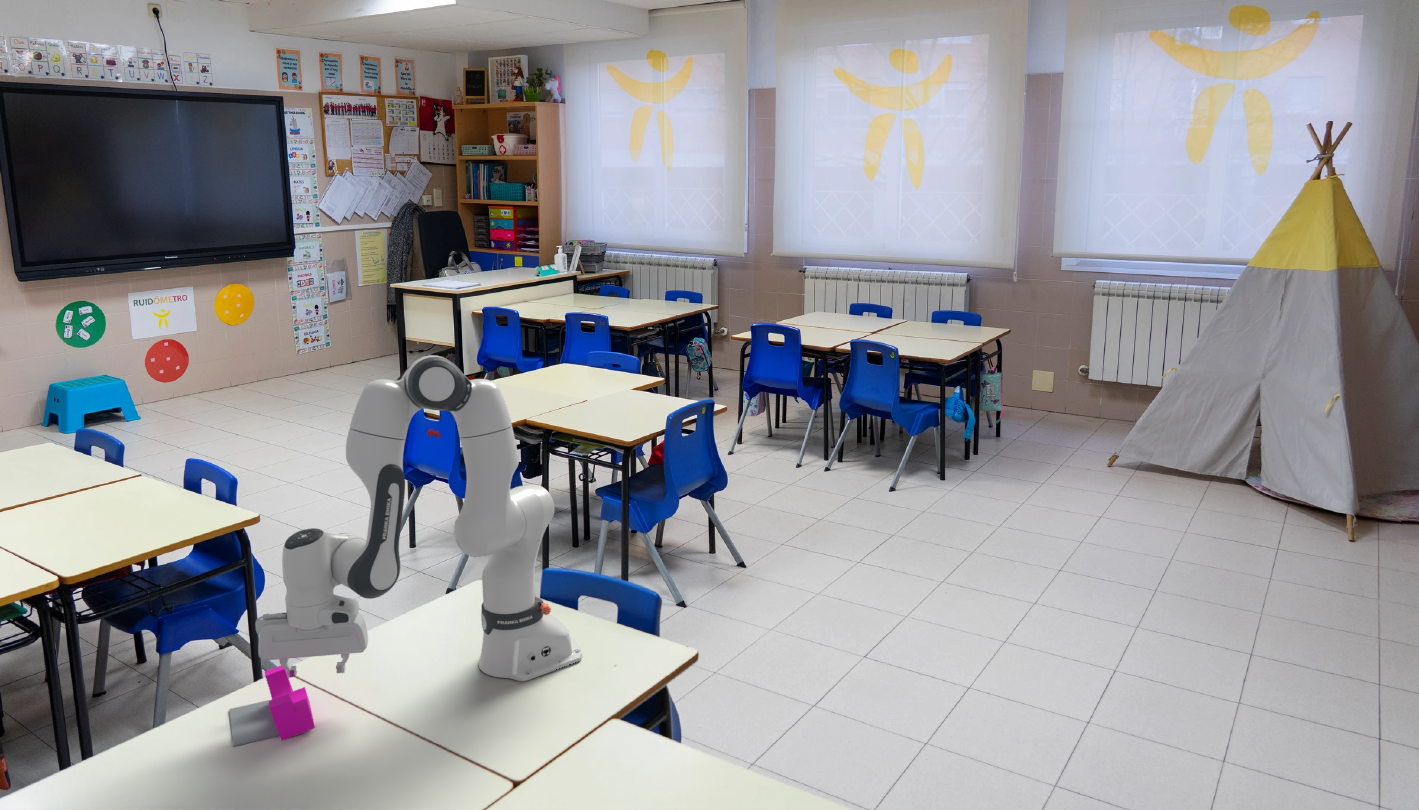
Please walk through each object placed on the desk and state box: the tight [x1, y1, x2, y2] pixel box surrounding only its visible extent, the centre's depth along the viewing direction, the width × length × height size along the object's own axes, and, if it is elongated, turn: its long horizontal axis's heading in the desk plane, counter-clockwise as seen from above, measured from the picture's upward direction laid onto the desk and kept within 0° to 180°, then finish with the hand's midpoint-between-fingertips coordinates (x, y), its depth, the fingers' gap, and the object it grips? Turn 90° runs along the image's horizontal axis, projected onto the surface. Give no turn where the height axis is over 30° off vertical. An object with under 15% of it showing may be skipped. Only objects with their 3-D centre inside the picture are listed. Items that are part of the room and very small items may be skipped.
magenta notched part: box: [264, 665, 316, 741], centre depth 192 cm, size 15×6×8 cm, turn 27°
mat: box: [228, 699, 279, 748], centre depth 191 cm, size 8×14×1 cm, turn 28°
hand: (316, 673), depth 195 cm, fingers open, 8 cm apart
